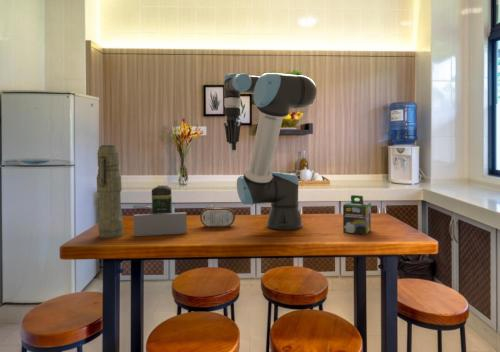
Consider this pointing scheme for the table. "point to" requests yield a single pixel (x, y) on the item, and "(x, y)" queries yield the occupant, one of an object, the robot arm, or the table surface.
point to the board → (160, 224)
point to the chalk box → (357, 216)
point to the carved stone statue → (109, 193)
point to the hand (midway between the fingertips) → (232, 157)
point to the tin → (217, 216)
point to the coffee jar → (161, 200)
